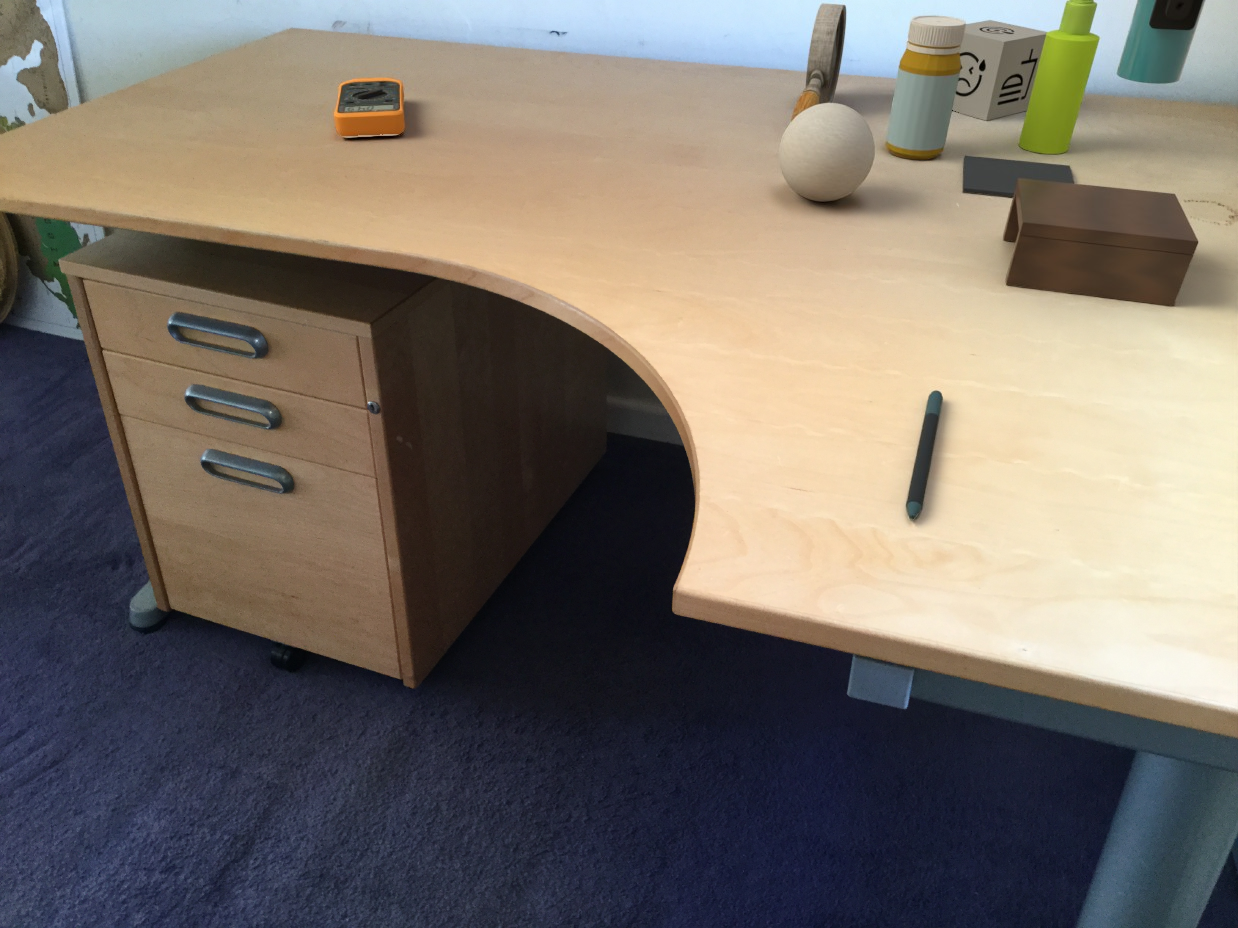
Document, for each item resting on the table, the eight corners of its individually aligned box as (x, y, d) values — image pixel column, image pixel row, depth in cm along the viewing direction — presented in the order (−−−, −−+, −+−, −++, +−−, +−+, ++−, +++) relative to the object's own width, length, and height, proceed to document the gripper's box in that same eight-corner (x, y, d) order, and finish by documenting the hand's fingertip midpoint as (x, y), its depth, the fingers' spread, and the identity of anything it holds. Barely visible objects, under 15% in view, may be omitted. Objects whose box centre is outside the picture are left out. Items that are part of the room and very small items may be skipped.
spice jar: (1175, 71, 80) (1216, -57, 74) (1185, 86, 76) (1230, -48, 70) (1111, 67, 81) (1147, -59, 75) (1118, 82, 77) (1157, -50, 72)
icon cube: (1032, 109, 132) (1051, 33, 126) (986, 120, 128) (1004, 42, 122) (974, 93, 139) (990, 20, 133) (928, 103, 134) (943, 28, 129)
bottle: (873, 147, 118) (894, 17, 109) (918, 140, 120) (943, 13, 112) (907, 164, 113) (933, 29, 104) (954, 157, 115) (983, 24, 106)
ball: (764, 207, 101) (773, 111, 95) (785, 178, 108) (796, 88, 103) (857, 221, 98) (873, 123, 92) (873, 190, 106) (889, 97, 100)
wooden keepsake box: (1153, 253, 92) (1175, 193, 88) (1173, 306, 82) (1199, 241, 79) (1002, 236, 95) (1017, 177, 91) (1005, 285, 86) (1022, 222, 82)
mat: (1068, 169, 112) (1069, 165, 111) (1077, 204, 102) (1078, 200, 102) (963, 159, 114) (964, 155, 114) (962, 192, 105) (963, 188, 105)
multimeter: (405, 100, 134) (402, 75, 132) (406, 138, 120) (403, 110, 118) (343, 103, 132) (339, 77, 130) (337, 142, 118) (332, 114, 116)
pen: (900, 526, 58) (904, 511, 57) (927, 399, 70) (930, 386, 69) (918, 530, 58) (922, 515, 57) (942, 402, 70) (945, 389, 69)
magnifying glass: (814, 84, 114) (849, -13, 128) (789, 82, 115) (827, -14, 129) (807, 176, 124) (840, 77, 138) (784, 173, 125) (819, 75, 139)
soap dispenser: (1061, 159, 115) (1112, -23, 103) (1009, 146, 119) (1053, -31, 107) (1084, 149, 118) (1137, -29, 106) (1033, 136, 122) (1078, -36, 110)
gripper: (1351, -268, 58) (1239, 47, 69) (1281, -260, 71) (1196, 4, 82) (1216, -265, 60) (1127, 42, 70) (1172, -258, 73) (1103, 0, 84)
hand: (1165, 19), depth 76 cm, fingers closed on spice jar, 4 cm apart
